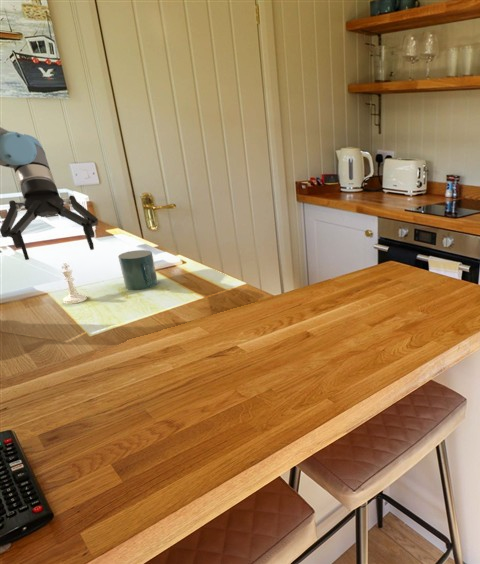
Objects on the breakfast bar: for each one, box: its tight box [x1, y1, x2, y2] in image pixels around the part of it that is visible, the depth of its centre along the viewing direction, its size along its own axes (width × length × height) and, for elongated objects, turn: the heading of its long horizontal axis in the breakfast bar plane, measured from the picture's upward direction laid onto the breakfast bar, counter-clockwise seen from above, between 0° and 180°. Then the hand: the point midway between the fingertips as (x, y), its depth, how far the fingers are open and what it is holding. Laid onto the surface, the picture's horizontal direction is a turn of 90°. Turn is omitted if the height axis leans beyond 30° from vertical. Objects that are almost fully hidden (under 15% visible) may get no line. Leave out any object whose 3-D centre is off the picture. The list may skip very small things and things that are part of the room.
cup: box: [117, 249, 159, 291], centre depth 118 cm, size 10×8×9 cm
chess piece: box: [61, 262, 88, 305], centre depth 107 cm, size 5×5×10 cm
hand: (60, 252), depth 110 cm, fingers open, 13 cm apart
